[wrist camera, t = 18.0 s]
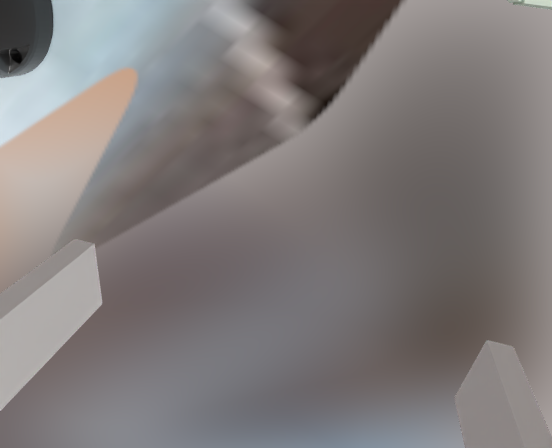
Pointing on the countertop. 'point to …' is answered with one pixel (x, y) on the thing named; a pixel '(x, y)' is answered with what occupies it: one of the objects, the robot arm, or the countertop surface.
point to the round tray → (533, 3)
